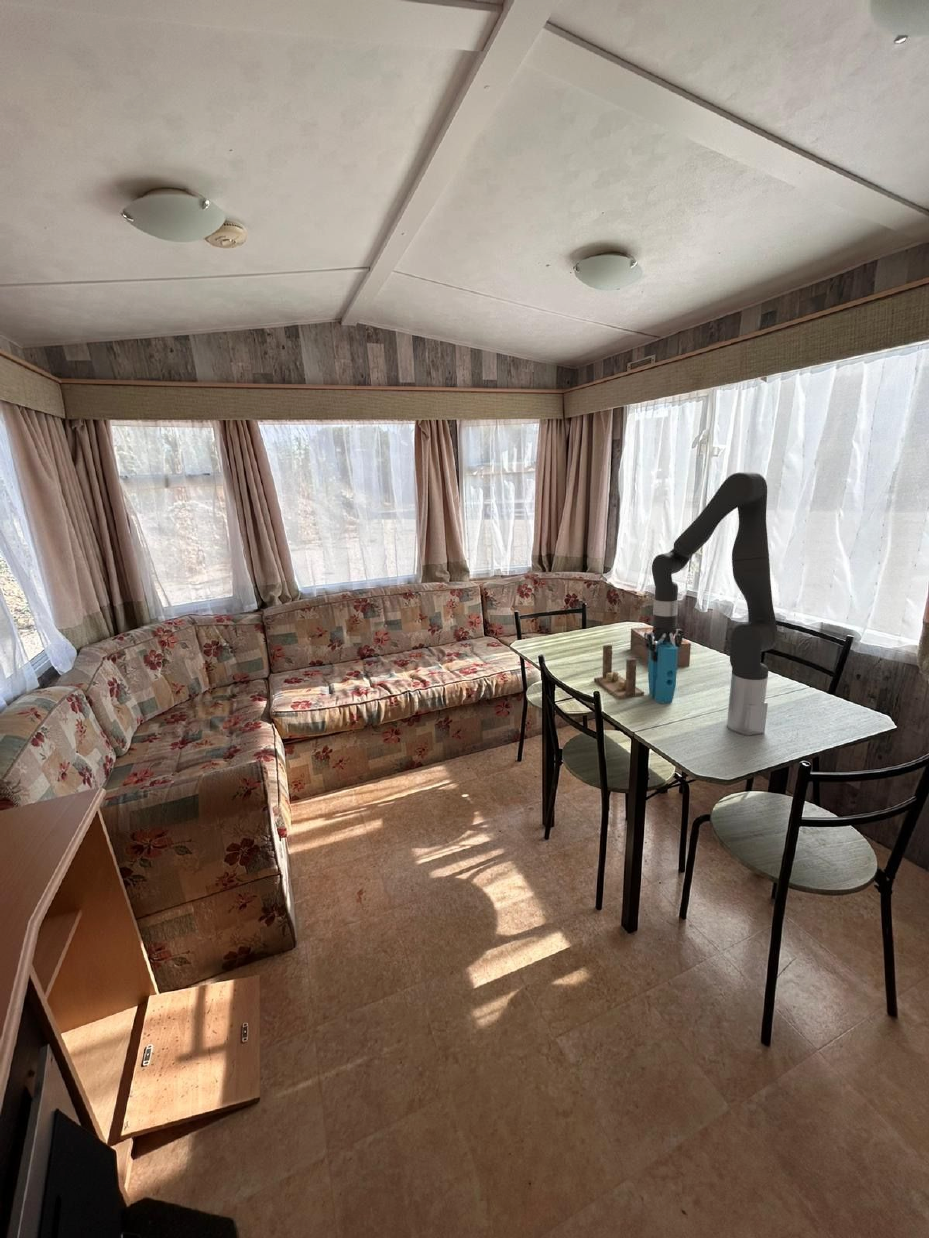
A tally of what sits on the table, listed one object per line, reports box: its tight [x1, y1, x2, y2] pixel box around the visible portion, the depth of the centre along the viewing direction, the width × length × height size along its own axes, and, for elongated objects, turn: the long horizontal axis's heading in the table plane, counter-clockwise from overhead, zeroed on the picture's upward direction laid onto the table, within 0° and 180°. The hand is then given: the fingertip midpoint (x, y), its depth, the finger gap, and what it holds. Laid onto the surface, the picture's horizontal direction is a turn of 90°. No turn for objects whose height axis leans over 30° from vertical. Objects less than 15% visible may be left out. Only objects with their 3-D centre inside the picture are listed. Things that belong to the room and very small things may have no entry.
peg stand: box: [593, 644, 645, 700], centre depth 181 cm, size 10×18×14 cm, turn 13°
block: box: [647, 639, 678, 704], centre depth 170 cm, size 12×5×20 cm, turn 4°
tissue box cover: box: [629, 626, 692, 668], centre depth 211 cm, size 26×14×10 cm, turn 3°
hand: (662, 660), depth 169 cm, fingers closed on block, 5 cm apart
